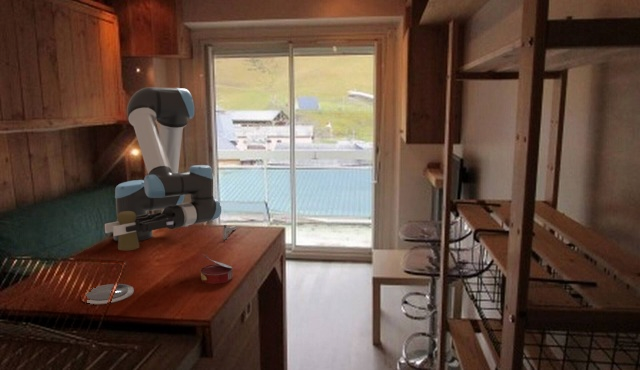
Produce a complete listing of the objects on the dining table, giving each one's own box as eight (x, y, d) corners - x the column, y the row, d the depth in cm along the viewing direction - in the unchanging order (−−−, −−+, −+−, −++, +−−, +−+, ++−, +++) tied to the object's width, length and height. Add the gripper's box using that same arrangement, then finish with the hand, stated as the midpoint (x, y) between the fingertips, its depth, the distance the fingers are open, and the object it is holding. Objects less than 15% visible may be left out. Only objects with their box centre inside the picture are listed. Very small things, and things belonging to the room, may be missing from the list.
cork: (143, 245, 142) (141, 210, 140) (130, 251, 136) (127, 214, 134) (127, 243, 143) (125, 208, 142) (113, 249, 138) (110, 213, 136)
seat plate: (71, 295, 133) (71, 292, 133) (118, 282, 144) (118, 278, 144) (94, 309, 125) (94, 305, 124) (143, 293, 135) (142, 290, 135)
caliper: (225, 241, 190) (225, 226, 189) (223, 240, 190) (222, 226, 189) (237, 228, 210) (237, 214, 209) (235, 228, 210) (234, 214, 209)
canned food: (206, 288, 152) (206, 258, 155) (236, 285, 151) (235, 255, 154) (194, 284, 141) (194, 251, 144) (227, 281, 141) (227, 248, 144)
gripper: (195, 231, 148) (126, 247, 130) (164, 223, 158) (96, 237, 140) (194, 208, 147) (124, 221, 129) (163, 201, 157) (94, 213, 139)
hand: (109, 229), depth 134 cm, fingers closed on cork, 4 cm apart
